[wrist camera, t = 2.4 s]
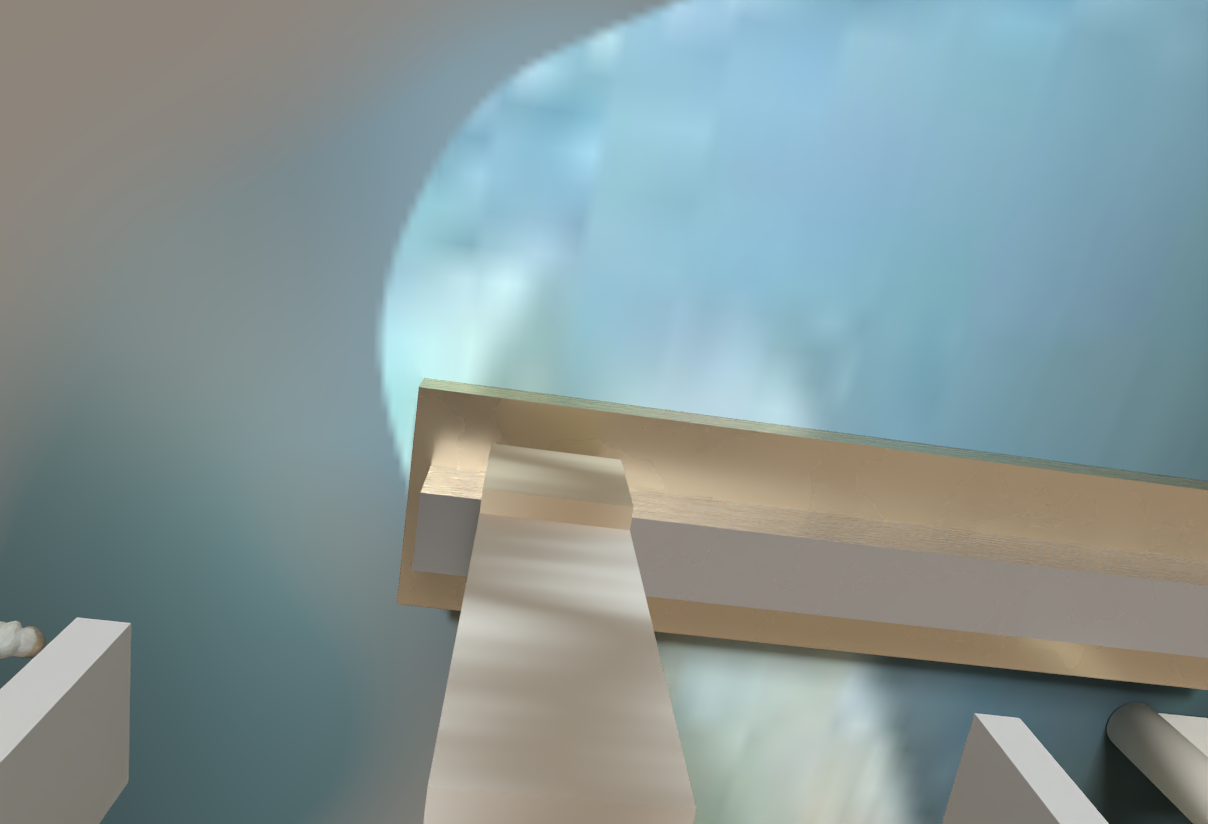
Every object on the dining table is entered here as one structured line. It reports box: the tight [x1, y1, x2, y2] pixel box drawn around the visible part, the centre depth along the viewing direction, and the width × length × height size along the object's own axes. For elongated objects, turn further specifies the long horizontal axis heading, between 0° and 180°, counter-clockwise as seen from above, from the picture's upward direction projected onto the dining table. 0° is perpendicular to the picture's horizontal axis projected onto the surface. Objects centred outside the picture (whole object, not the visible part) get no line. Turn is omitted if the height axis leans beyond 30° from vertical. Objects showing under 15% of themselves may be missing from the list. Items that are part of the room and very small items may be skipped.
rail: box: [397, 378, 1208, 690], centre depth 23 cm, size 24×6×3 cm, turn 81°
